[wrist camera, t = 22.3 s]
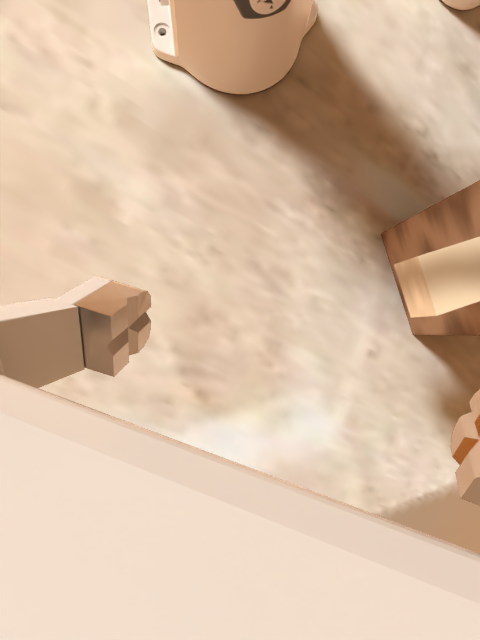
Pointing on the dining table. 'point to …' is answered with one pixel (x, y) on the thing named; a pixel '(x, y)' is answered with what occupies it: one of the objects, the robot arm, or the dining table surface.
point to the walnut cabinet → (433, 234)
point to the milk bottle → (462, 4)
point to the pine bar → (441, 279)
